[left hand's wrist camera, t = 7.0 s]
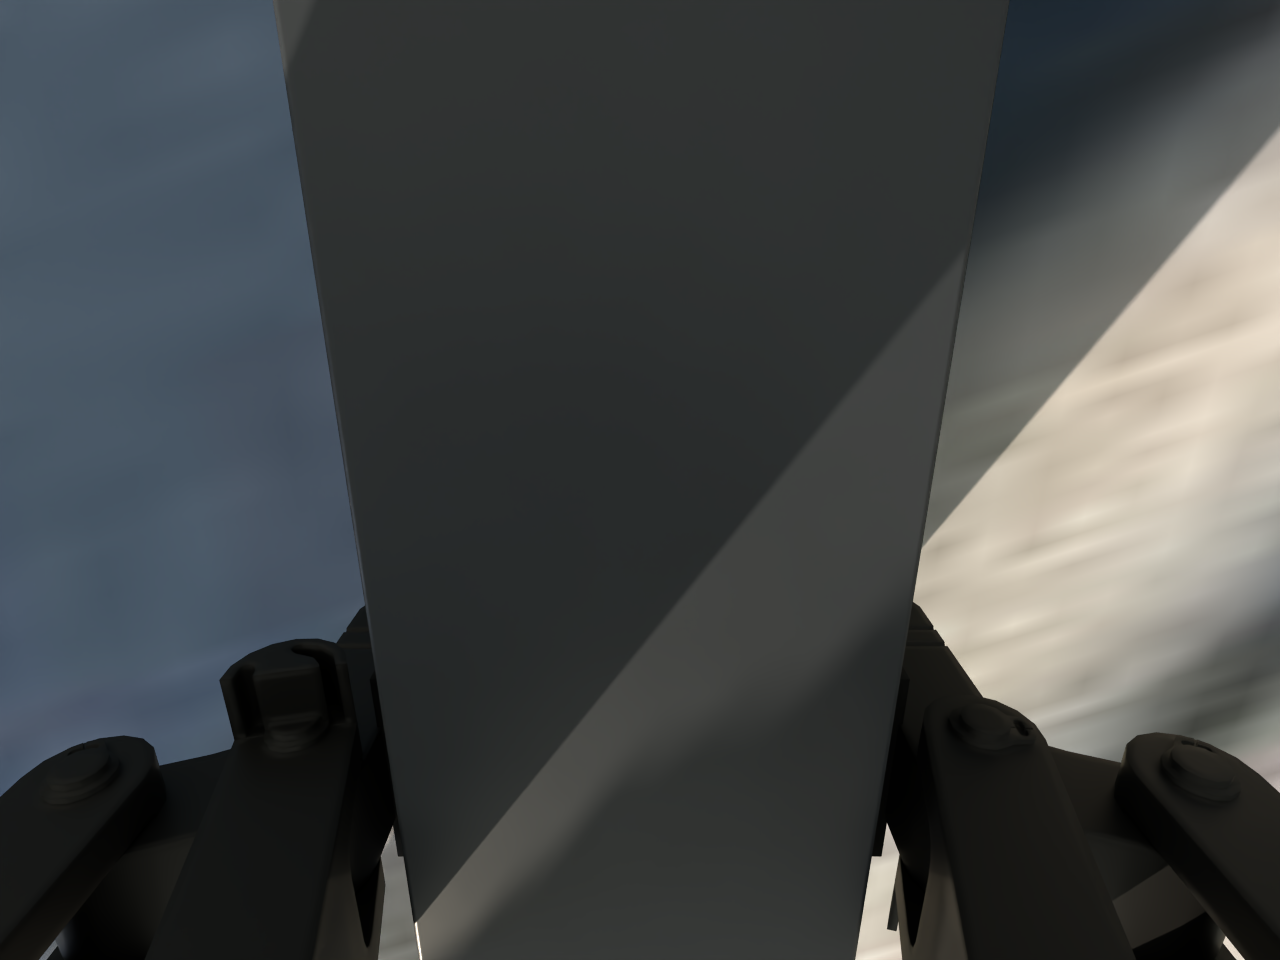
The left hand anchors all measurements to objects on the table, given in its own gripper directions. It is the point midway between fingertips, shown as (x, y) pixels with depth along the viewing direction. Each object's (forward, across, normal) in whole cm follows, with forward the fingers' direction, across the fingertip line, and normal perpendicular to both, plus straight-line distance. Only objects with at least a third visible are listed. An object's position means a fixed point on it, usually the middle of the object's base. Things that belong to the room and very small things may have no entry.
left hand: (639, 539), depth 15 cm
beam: (+1, 0, -25) cm, 25 cm away
